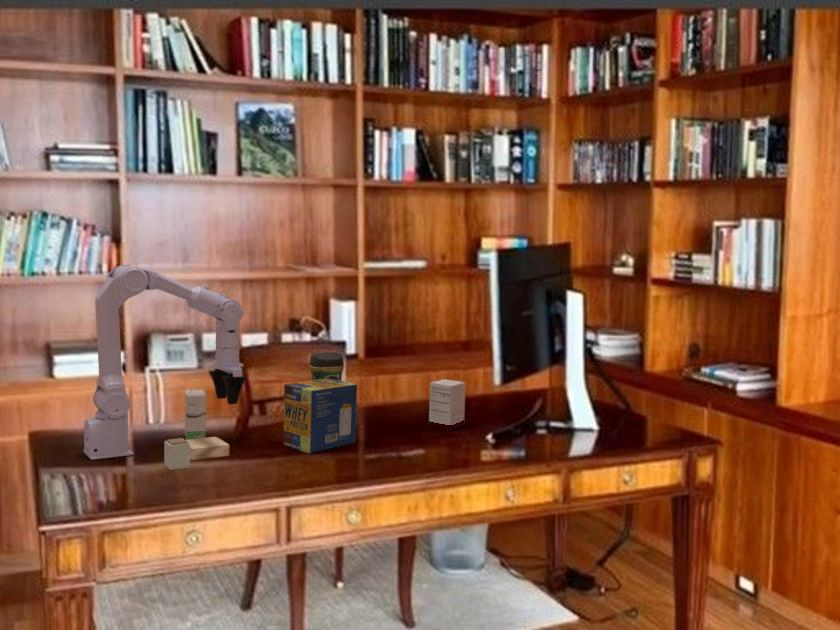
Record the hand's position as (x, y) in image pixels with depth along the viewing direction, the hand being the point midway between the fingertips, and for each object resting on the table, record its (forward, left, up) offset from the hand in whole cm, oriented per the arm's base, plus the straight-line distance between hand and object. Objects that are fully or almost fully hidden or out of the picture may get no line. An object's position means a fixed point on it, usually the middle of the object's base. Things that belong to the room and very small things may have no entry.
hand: (227, 401), depth 216 cm
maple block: (-9, -9, -11) cm, 17 cm away
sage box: (-18, -17, -10) cm, 27 cm away
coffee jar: (+35, +14, -10) cm, 39 cm away
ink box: (-6, +6, -10) cm, 13 cm away
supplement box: (+59, -12, -10) cm, 61 cm away
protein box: (+19, -14, -10) cm, 26 cm away
